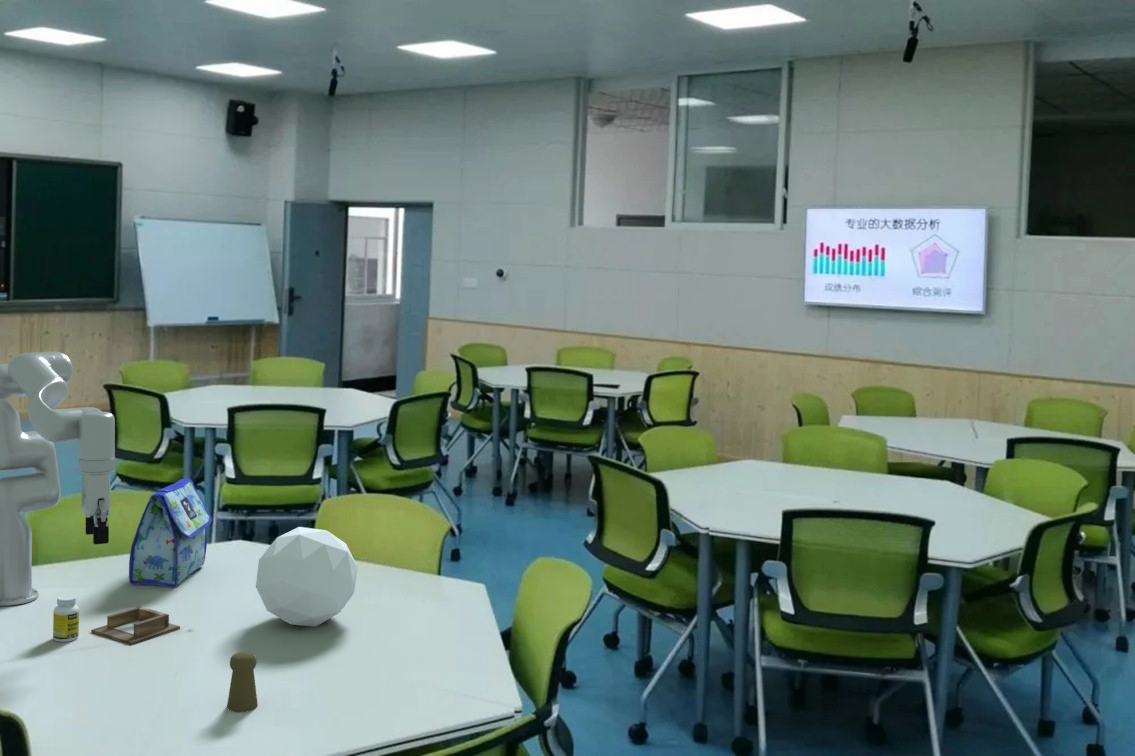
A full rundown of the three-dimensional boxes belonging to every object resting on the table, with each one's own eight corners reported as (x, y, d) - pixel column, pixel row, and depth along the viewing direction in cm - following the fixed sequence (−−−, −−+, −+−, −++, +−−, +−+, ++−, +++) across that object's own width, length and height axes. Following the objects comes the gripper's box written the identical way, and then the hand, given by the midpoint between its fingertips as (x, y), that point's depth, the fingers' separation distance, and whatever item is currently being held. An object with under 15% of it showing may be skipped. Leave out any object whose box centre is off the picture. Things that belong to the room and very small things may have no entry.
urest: (91, 632, 259) (91, 617, 259) (140, 617, 271) (140, 602, 271) (131, 644, 252) (131, 629, 252) (179, 628, 265) (180, 614, 264)
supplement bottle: (68, 643, 251) (69, 602, 250) (47, 640, 252) (48, 599, 251) (83, 636, 256) (84, 595, 255) (63, 633, 257) (63, 592, 256)
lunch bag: (186, 589, 295) (188, 494, 292) (124, 586, 295) (125, 491, 292) (214, 567, 317) (215, 478, 314) (157, 563, 317) (158, 474, 314)
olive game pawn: (230, 700, 225) (231, 648, 224) (260, 700, 225) (261, 648, 224) (223, 712, 219) (224, 658, 218) (254, 712, 219) (255, 659, 218)
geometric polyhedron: (305, 645, 282) (335, 555, 294) (357, 637, 264) (387, 542, 277) (224, 611, 269) (259, 519, 282) (273, 600, 252) (309, 502, 264)
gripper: (72, 460, 257) (73, 531, 258) (86, 473, 242) (86, 549, 244) (107, 458, 261) (107, 529, 262) (122, 471, 246) (121, 545, 248)
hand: (96, 538), depth 253 cm, fingers open, 9 cm apart
